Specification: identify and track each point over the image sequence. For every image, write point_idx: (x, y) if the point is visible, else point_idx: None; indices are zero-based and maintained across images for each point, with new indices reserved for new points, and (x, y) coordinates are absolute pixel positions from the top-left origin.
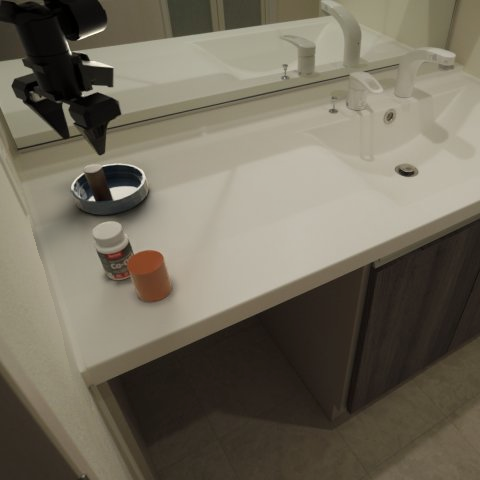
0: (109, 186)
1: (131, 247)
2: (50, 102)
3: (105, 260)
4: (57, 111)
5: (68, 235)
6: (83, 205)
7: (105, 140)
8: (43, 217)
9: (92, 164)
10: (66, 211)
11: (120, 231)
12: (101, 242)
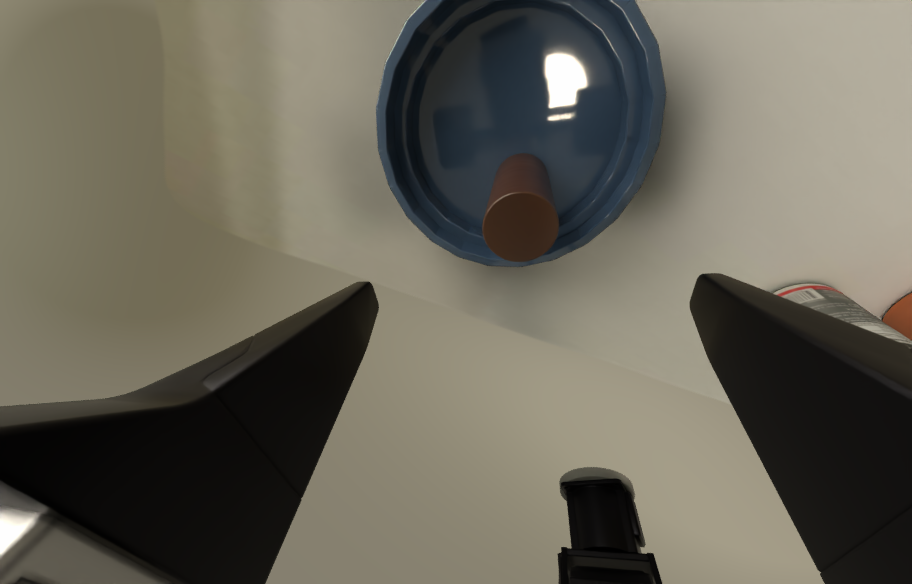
0: (464, 121)
1: (900, 333)
2: (190, 525)
3: None
4: (259, 419)
5: (560, 307)
6: None
7: (837, 323)
8: (454, 301)
9: (491, 211)
10: (471, 263)
11: None
12: None
